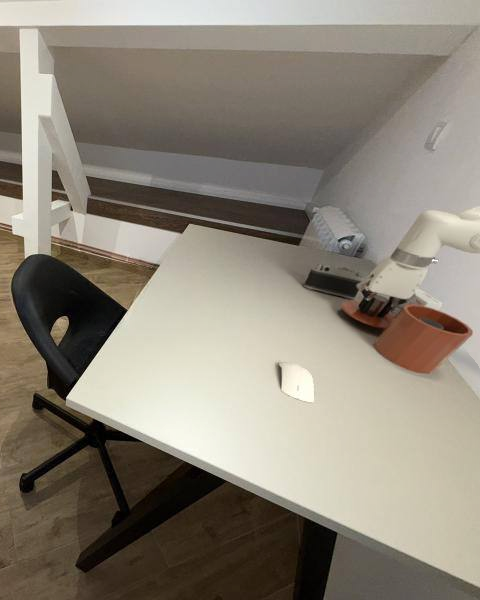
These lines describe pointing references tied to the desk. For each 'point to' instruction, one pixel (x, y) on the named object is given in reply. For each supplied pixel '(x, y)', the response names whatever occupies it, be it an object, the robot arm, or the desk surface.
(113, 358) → the desk surface
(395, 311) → the ink box
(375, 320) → the lid
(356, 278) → the camera
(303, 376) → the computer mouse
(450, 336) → the pot
